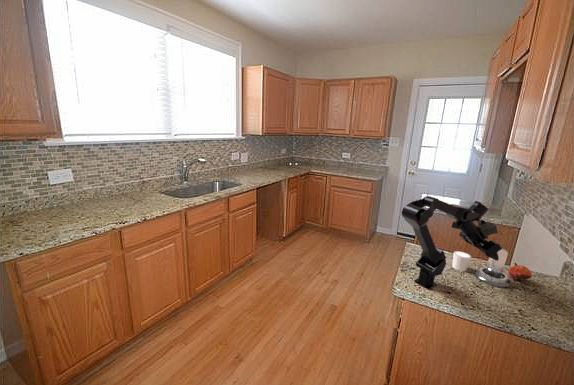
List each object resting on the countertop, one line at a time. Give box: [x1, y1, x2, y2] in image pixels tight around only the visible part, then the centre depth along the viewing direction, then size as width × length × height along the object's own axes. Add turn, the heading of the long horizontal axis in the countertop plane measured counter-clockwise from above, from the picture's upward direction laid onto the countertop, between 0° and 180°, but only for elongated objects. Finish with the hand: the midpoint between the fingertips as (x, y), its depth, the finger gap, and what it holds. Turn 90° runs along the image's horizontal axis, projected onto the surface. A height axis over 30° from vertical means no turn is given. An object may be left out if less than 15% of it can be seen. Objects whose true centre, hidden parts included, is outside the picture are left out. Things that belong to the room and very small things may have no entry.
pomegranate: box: [507, 262, 533, 286], centre depth 113 cm, size 7×7×10 cm
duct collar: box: [474, 266, 511, 289], centre depth 114 cm, size 12×12×3 cm
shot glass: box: [451, 250, 472, 272], centre depth 121 cm, size 7×7×7 cm
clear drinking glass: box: [485, 248, 509, 279], centre depth 112 cm, size 6×6×13 cm
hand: (489, 254), depth 111 cm, fingers open, 9 cm apart
